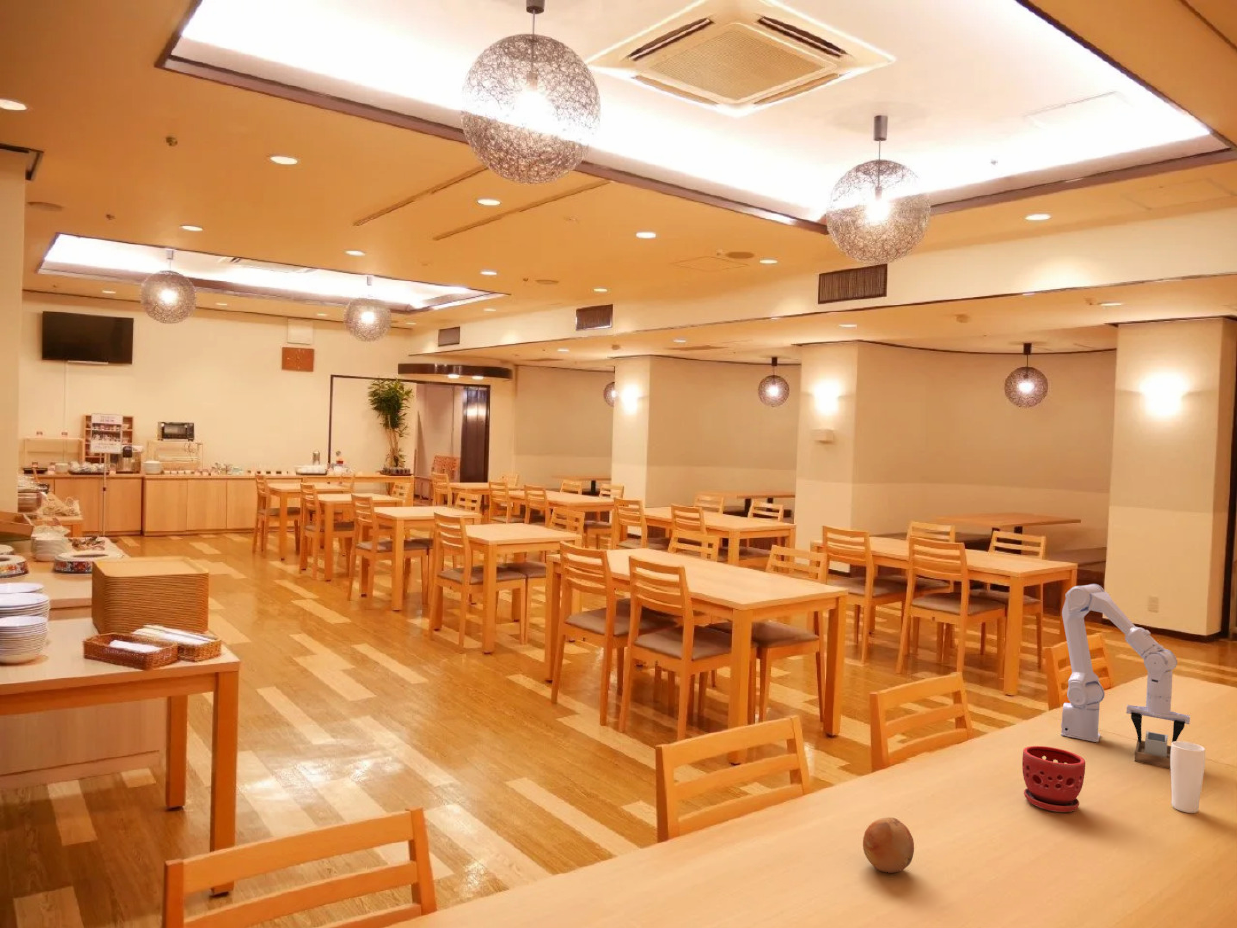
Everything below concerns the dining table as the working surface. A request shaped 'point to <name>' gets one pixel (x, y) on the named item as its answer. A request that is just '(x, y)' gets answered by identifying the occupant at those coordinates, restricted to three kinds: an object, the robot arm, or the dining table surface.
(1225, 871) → the dining table surface
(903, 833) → the onion
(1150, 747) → the small crate
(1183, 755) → the white cup
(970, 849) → the dining table surface
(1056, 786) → the plant pot
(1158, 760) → the walnut crate
